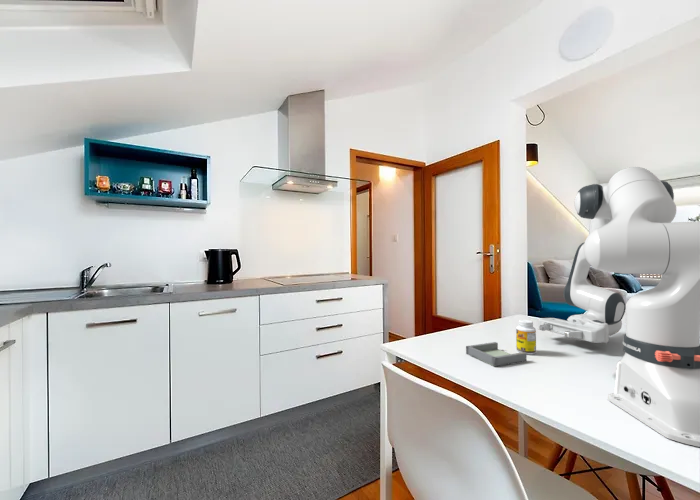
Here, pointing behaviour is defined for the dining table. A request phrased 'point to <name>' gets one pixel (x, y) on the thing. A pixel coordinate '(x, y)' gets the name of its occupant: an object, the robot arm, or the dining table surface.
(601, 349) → the dining table surface
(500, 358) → the tray
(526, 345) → the supplement bottle
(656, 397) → the robot arm
